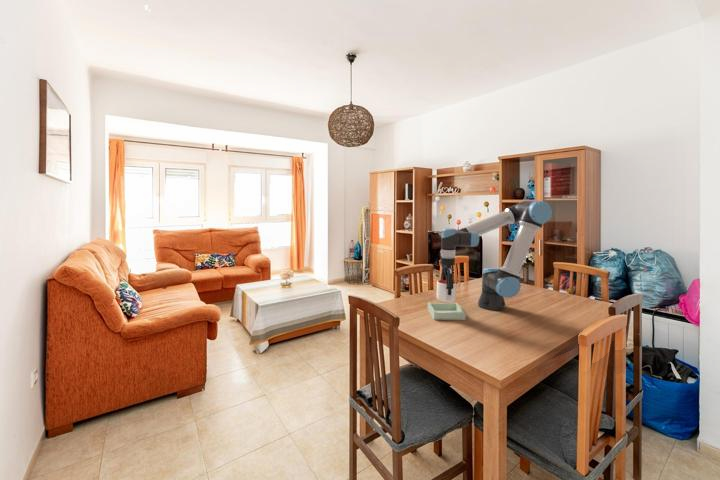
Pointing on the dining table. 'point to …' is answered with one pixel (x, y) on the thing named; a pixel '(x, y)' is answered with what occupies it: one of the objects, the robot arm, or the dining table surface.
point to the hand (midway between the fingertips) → (446, 297)
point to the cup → (442, 290)
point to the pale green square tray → (446, 311)
